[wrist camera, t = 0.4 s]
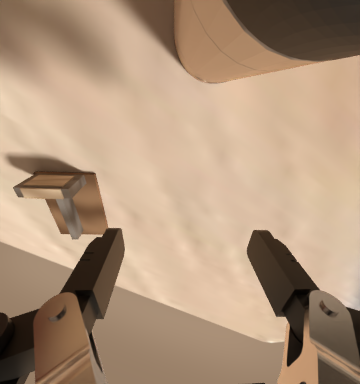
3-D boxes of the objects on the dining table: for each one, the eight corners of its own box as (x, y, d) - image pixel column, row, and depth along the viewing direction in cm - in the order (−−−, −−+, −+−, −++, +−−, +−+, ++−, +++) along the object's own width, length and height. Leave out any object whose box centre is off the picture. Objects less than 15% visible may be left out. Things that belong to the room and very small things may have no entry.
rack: (35, 170, 25) (6, 186, 21) (95, 172, 26) (79, 188, 21) (62, 231, 32) (45, 253, 28) (109, 232, 33) (99, 254, 28)
